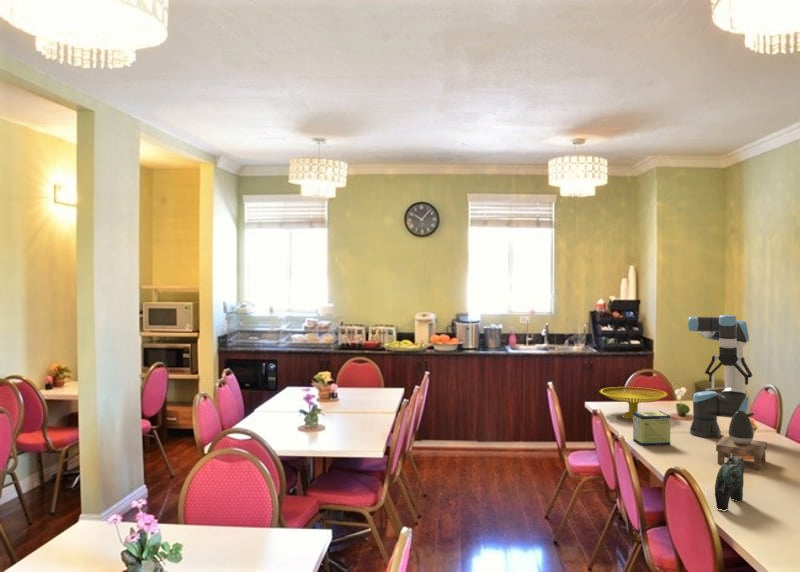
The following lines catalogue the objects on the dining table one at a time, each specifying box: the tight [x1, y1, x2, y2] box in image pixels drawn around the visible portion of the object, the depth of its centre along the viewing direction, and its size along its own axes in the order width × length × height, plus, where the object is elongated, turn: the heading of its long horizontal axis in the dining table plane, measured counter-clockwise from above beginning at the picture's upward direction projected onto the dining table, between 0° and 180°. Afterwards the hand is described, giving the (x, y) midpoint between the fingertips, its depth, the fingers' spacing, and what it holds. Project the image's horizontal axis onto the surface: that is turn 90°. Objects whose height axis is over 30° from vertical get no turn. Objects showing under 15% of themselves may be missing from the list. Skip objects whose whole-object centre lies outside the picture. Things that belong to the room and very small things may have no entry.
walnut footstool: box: [715, 435, 768, 472], centre depth 275 cm, size 18×18×9 cm
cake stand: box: [598, 386, 669, 419], centre depth 370 cm, size 40×40×15 cm
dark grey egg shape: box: [728, 411, 755, 445], centre depth 274 cm, size 10×10×15 cm
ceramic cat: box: [714, 451, 745, 510], centre depth 224 cm, size 20×6×20 cm, turn 131°
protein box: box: [632, 410, 671, 447], centre depth 310 cm, size 10×16×16 cm
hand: (728, 389), depth 290 cm, fingers open, 13 cm apart
